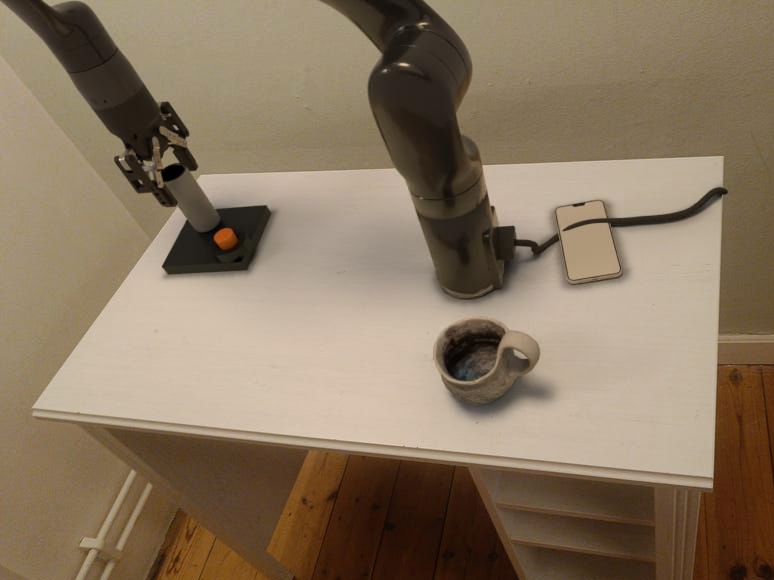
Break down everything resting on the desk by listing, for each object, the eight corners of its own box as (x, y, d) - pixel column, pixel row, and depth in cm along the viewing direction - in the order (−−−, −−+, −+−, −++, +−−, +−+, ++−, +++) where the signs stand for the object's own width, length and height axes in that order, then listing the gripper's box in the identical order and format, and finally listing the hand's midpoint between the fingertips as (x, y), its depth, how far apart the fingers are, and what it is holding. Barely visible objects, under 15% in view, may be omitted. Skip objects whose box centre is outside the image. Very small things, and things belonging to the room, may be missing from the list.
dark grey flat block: (274, 213, 102) (264, 196, 100) (249, 270, 95) (238, 254, 92) (197, 218, 105) (186, 203, 102) (168, 274, 98) (155, 259, 95)
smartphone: (567, 282, 81) (553, 207, 90) (567, 285, 82) (553, 210, 91) (623, 273, 80) (603, 198, 89) (623, 276, 81) (603, 201, 90)
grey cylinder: (213, 233, 99) (177, 181, 91) (189, 232, 100) (151, 182, 92) (225, 213, 101) (191, 162, 93) (202, 213, 103) (166, 162, 94)
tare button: (240, 235, 95) (235, 227, 94) (234, 249, 94) (228, 241, 92) (223, 236, 96) (217, 228, 95) (217, 250, 94) (211, 242, 93)
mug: (452, 348, 79) (434, 297, 71) (549, 349, 76) (541, 296, 68) (439, 413, 74) (418, 366, 66) (543, 416, 71) (534, 368, 63)
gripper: (115, 119, 77) (187, 217, 90) (159, 58, 85) (220, 156, 98) (64, 125, 79) (142, 220, 92) (113, 64, 87) (178, 160, 100)
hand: (182, 187), depth 95 cm, fingers open, 8 cm apart
